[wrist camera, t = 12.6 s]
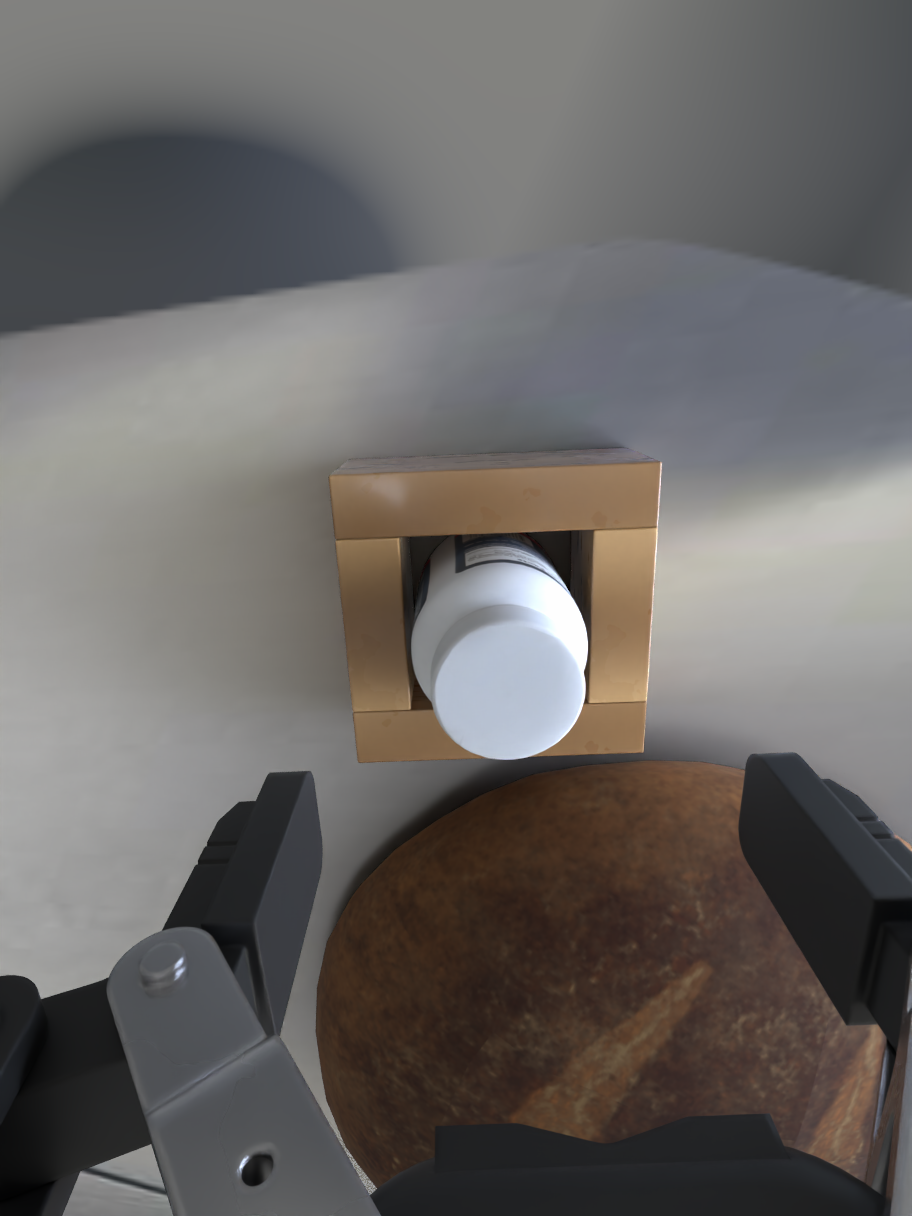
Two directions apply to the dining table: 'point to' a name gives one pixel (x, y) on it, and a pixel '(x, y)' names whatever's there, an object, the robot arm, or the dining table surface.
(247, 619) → the dining table surface
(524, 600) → the pill bottle
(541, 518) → the holder
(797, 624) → the dining table surface
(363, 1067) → the bread
